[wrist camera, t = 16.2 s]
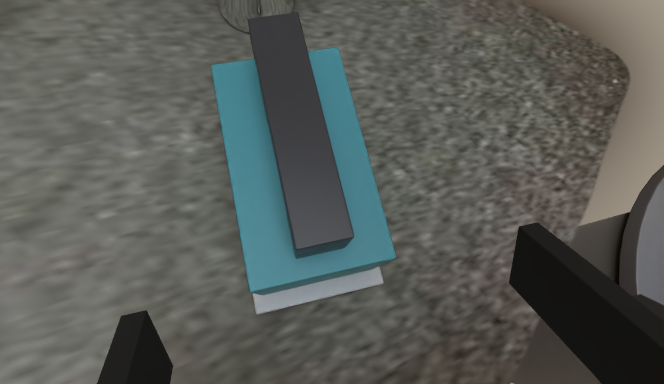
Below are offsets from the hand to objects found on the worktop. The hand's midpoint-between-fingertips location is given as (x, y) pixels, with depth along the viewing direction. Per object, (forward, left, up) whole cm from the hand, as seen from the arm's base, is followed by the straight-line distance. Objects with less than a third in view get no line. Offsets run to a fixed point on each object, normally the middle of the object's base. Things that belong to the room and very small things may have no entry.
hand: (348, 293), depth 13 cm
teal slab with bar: (+8, -5, -12) cm, 15 cm away
